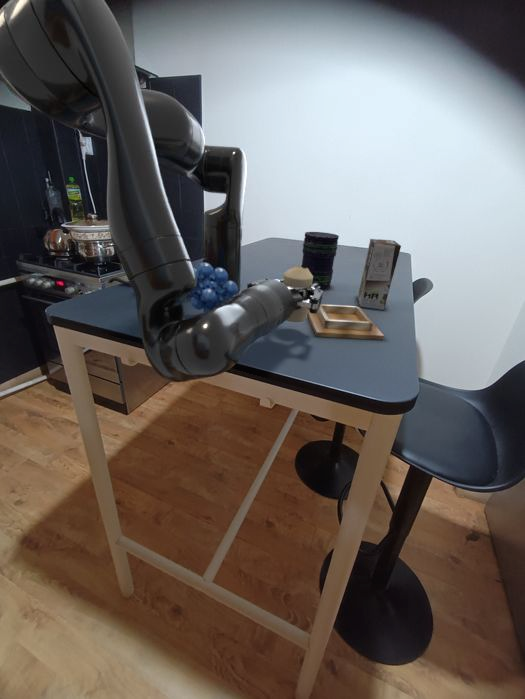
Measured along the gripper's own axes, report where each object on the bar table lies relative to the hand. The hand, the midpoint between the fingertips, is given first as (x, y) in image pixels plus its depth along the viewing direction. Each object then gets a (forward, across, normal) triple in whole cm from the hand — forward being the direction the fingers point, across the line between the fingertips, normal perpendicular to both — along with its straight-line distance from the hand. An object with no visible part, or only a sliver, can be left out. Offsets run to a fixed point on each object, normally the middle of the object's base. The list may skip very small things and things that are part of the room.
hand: (301, 285), depth 63 cm
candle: (-3, 0, +6) cm, 7 cm away
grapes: (-7, +17, +10) cm, 21 cm away
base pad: (+9, -8, +10) cm, 15 cm away
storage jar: (+34, +8, +10) cm, 36 cm away
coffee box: (+28, -10, +10) cm, 32 cm away
